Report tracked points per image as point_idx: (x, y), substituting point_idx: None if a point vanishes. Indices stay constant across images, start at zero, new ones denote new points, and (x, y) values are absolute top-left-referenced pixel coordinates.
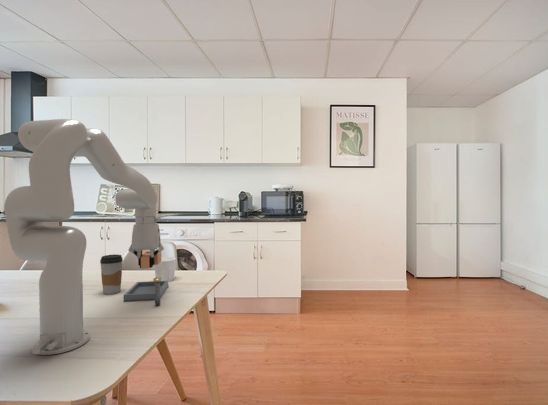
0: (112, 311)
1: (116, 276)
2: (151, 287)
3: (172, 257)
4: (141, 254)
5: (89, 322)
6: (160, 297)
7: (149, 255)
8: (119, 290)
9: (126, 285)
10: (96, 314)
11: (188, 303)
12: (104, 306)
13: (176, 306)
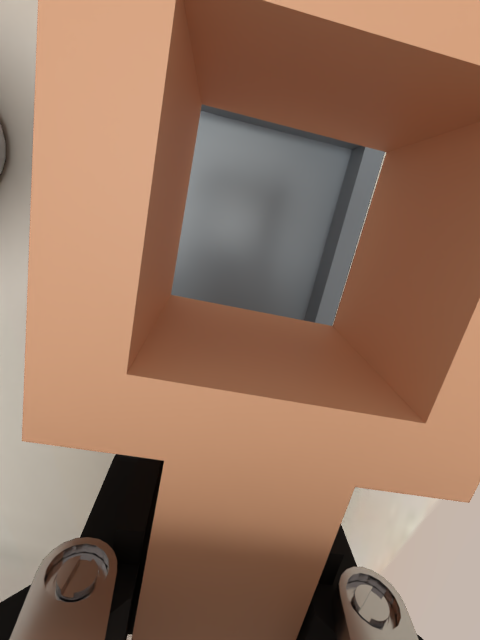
0: (71, 507)
1: None
2: (244, 163)
3: None
4: (98, 623)
5: (11, 590)
6: None
7: (279, 616)
8: (1, 163)
9: None
10: (6, 521)
11: (410, 507)
12: (5, 431)
13: (353, 526)
